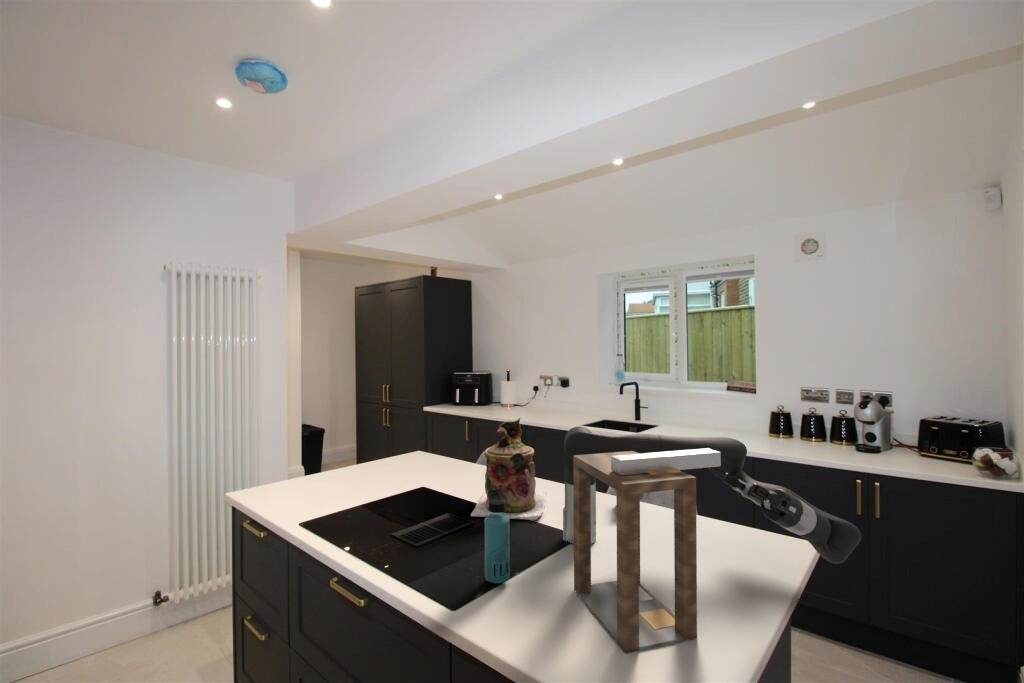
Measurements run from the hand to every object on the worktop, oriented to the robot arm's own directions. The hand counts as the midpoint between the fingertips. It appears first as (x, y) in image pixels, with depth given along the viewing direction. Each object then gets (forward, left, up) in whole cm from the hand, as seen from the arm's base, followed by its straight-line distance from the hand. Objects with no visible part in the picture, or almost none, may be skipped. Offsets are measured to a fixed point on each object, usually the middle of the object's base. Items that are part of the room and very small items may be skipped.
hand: (738, 482), depth 105 cm
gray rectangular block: (-15, -11, +5) cm, 19 cm away
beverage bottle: (-55, -8, -28) cm, 62 cm away
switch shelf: (-23, -10, -28) cm, 37 cm away
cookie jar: (-70, +43, -28) cm, 86 cm away
